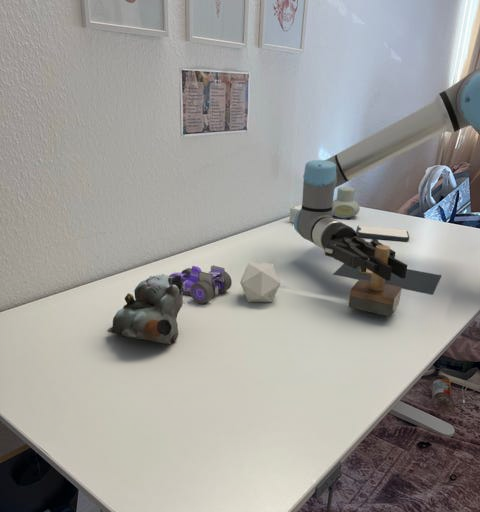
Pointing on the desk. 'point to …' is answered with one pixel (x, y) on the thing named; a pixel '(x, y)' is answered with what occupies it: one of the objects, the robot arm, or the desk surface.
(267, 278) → the die
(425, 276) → the mat
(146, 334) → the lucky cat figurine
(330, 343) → the desk surface
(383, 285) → the wooden peg stand
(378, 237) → the phone case
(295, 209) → the small box
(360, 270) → the pad
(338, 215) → the air freshener
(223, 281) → the toy race car
